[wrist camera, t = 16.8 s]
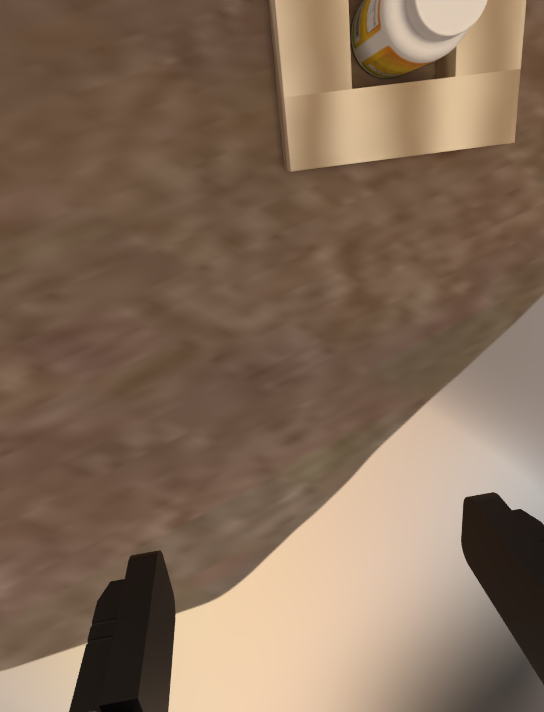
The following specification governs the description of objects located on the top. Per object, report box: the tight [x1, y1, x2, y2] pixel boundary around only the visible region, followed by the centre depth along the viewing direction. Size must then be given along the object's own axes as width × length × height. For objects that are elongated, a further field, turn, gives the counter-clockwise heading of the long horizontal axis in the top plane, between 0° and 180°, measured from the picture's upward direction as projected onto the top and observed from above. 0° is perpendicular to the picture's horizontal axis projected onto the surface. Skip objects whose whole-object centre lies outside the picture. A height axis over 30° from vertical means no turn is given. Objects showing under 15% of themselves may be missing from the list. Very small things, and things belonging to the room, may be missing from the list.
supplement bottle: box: [351, 0, 488, 78], centre depth 28 cm, size 5×5×10 cm
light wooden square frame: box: [268, 0, 526, 171], centre depth 31 cm, size 16×16×3 cm
